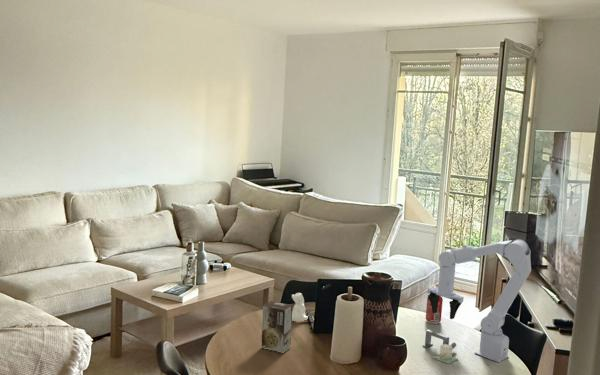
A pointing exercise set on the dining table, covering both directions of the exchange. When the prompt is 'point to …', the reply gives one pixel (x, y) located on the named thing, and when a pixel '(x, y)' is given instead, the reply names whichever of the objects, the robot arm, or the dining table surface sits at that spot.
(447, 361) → the pad
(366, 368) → the dining table surface
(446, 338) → the bracket
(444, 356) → the plug
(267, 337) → the coffee box
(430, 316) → the beverage can
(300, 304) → the seated beast figurine
